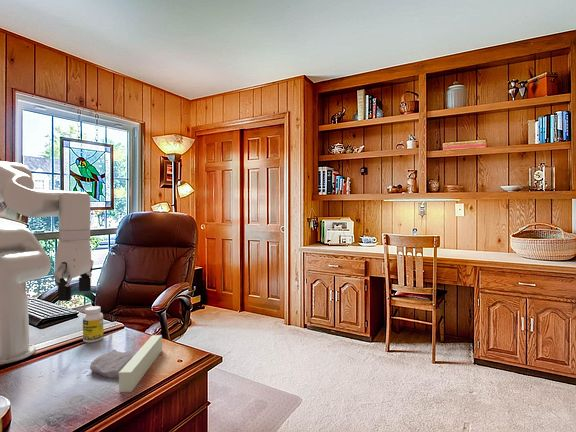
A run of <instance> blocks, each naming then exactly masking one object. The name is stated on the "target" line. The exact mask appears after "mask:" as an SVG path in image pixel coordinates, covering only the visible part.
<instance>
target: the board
mask: <svg viewBox="0 0 576 432" xmlns="http://www.w3.org/2000/svg"><path fill="white" fill-rule="evenodd" d="M162 351H163V335H162V334H160V335H159V334H157V335H150V337H149V338H148V340H146V342H145V343H144V344H143V345H142V346H141V347H140V348H139V350H138V351H136V352H137V353H136V354H135V355H134V356H133V357H132V358H131V360H130V361H129V362H128V363H127V364H126V365H125V366H124V367H123V369H122V370H121V371H120V372H119V378H118V388H119V389H118V391H119V393H129V392H130V393H132V392H133V390H134V389H135V388H136V386H138V384H139V383H140V381H141V379H142V378H143V377H144V375H145V374H146V373H147V371H148V370H149V369H150V367H151V366H152V364H154V363H155V361H156V360H157V358H158V357H159V355H160V354H161V353H162Z"/></svg>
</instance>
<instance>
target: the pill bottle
mask: <svg viewBox="0 0 576 432" xmlns="http://www.w3.org/2000/svg"><path fill="white" fill-rule="evenodd" d="M101 311H102V310H101V306H99V305H95V306H92V305H91V306H88V307H86V308H85V309H84V313H85V314H84V315H83V316H82V340H83V342H84V343H95V342H99V341H102V339H104V314H103V312H101Z"/></svg>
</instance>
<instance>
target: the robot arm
mask: <svg viewBox="0 0 576 432" xmlns="http://www.w3.org/2000/svg"><path fill="white" fill-rule="evenodd" d="M32 174H33V173H32V171H31V169H30V168H29V167H28V166H27V165H25V164H22V163H21V162H20V163H19V162H13V161H11V162H10V161H1V160H0V203H4V204H5V206H6V207H7V208H8V209H9V210H11V211H13V212H15V213H16V214H19V215H21V216H24V217H28V218H48V217H52V218H54V217H58V242H57V245H56V254H55V255H56V256H55V265H54V267H55V268H54V269H55V270H54V271H53V278H54V283H55V284H56V287H57V301H59V302H70V301H72V285H71V282H72V280H73V279H74V278H77V277H78V291H79V292H90V291H91V290H92V285H91V284H92V276H93V274H92V272H93V266H94V259H92V249H91V248H92V247H91V196H90V194H89V193H87V192H84V191H66V190H54V189H34V187H35V184H34V183H35V181H34V180H33V175H32ZM51 265H52V263H51V259H50V257H49V255H48V254H47V252H46V250H45V249H44V248H43V246H42V245H41V243H40V242H39V240H38V239H37V237H36V236H35V234H34V233H33V232H32V231H31V230H30V229H28V228H27V227H25V226H22V225H0V365H5V364H10V363H15V362H18V361H21V360H24V359H26V358H29V357H30V356H32V355H33V354H35V352H36V349H37V348H36V345H34V344H31V343H30V325H29V324H30V323H29V321H30V320H29V298H28V295H27V293H26V291H25V290H24V288H23V287H21V285H20V284H22V283H25V282H28V281H34V280H38V279H41V278H44V277H46V276H47V275H48V274H49V273H50V271H51V268H52V266H51Z"/></svg>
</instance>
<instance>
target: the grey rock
mask: <svg viewBox="0 0 576 432" xmlns="http://www.w3.org/2000/svg"><path fill="white" fill-rule="evenodd" d="M137 352H138V351H135V350H127V351H125V352H122V351H118V350H116V349H112V350H110V351H108V352H105V353H103V354H100V355H99V356H97V357H95V359H93V360H92V361H91V362H90V367H89V369H90V371H91V372H93V373H96V374H97V375H98V374H99V375H101V376H103V377H106V378H109V379H119V372H120V371H121V370H122V369H123V367H124V366H125V365H126V364H127V363H128V362H129V361H130V360H131V358H132V357H133V356H134V355H135V354H136V353H137Z"/></svg>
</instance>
